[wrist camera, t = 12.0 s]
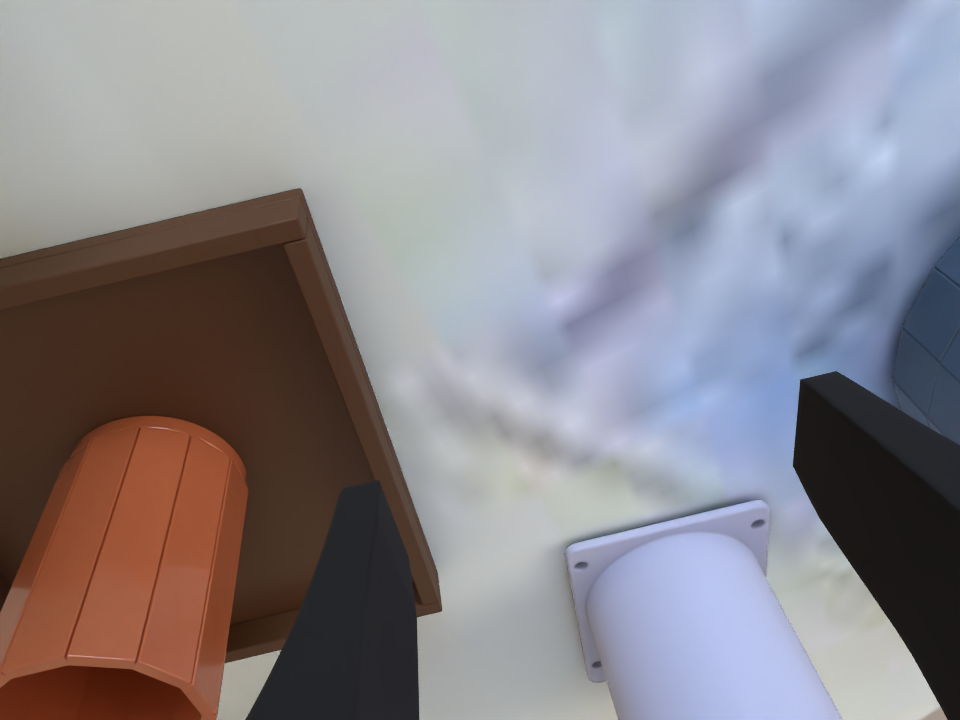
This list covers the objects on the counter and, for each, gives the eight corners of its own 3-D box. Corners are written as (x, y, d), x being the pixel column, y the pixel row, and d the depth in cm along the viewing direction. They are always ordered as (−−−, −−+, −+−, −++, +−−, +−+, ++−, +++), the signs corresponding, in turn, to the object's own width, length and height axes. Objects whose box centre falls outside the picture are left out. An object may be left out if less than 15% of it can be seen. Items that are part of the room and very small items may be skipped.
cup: (272, 515, 26) (247, 753, 19) (117, 552, 26) (41, 803, 19) (209, 396, 22) (155, 634, 16) (32, 438, 22) (-93, 693, 16)
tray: (437, 572, 29) (442, 611, 28) (77, 657, 29) (63, 702, 28) (301, 186, 20) (297, 217, 18) (-237, 314, 20) (-283, 354, 18)
